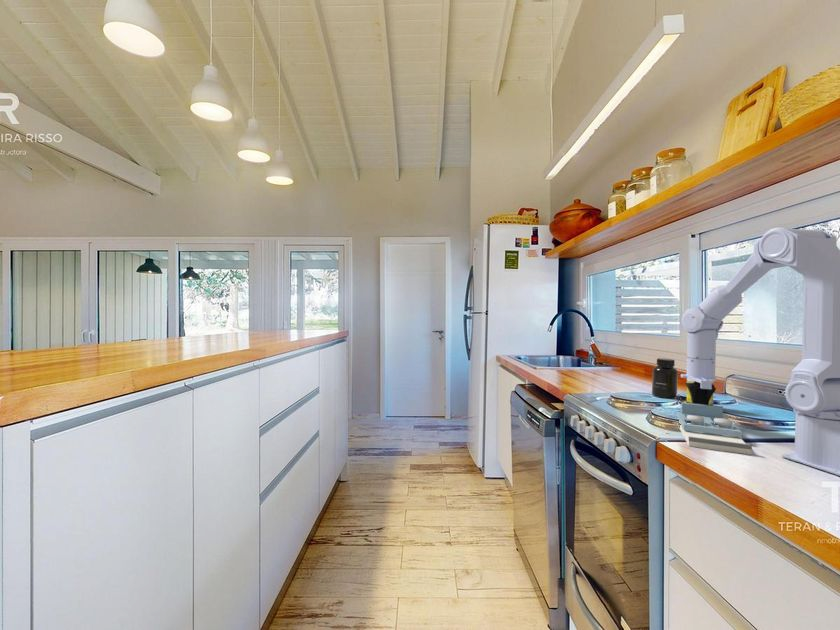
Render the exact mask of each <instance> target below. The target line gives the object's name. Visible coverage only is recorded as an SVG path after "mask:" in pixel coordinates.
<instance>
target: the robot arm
mask: <svg viewBox="0 0 840 630" xmlns="http://www.w3.org/2000/svg"><path fill="white" fill-rule="evenodd" d="M837 240H838V239H837V236H836V235H833V234H831V233H830V232H827V231H825V230H822V229H817V228H816V229H815V228H814V229H803V228H802V229H801V228H799V229H797V228H786V227H773V228H771V229H769V230H767V231H766V232H765V233H764V234H763V235H762V236H761V238H760V240H758V241H757V242H755V243H754V244H753V252H752V254H751V255H750V256H749V257H748V259H747V260H746V261H745V262H744V263H743V265H742V266H741V267H740V268H739V269H738V270H737V272H736V273H735V274H734V275H733V276H732V277H731V279H730V280H728V283H727V284H725V285H717V286H715V287H713V288H711V289H710V293H709V294H708V295H707V296H706V297H705V298H704V299H703V300H702V301H701V302H700V303H699V304H698V305H697V306H695V307H694V308H688V309H686V310H685V311H684V312H683V314H682V316H681V324H682V328H683V329H684V330H685V331H686V332H687V333H686V335H687V337H686V373H681V374H680V378H682V379H686V380H687V379H690V380H693V381H694V382H693V383H687V382H685V385H686V389H687V388H688V390H689V392H690V395H691V400H692V403H693V404H703V405H708V404H709V401H710V398H711V396H712V394H713V395H714V393H715V391H716V390H717V388H716V387H715V385H714V382H716V381H717V377H716V360H717V359H716V355H717V354H716V352H717V351H716V348H717V346H716V345H717V339H718V338H719V333H720V331H721V329H722V328H723V325H724V319H725V318H726V317H727V316H728V315H729V314H730V313H731V312H732V311H733V310H735V308H736V307H738V306H739V305H740V304H741V303H742V301H743V297H742V296H743V295H742V294H743V293H744V292H746V291H747V290H748V289H749V288H751V287H752V286H753V285H754V284H755V283H757V282H758V281H759V280H760V279H762V278H763V277H764V276H765V275H767V273H768V272H770V271H771V270H773V269H777V268H784V267H789V268H791V269H793V270H794V271H796V272H797V273H799V275H802V276H803V299H802V301H803V304H802V306H803V307H802V309H803V310H802V313H803V314H802V351H801V353H802V355H801V356H802V358H801V361H800V362H799V363H798V364H797V365H796V366H795V367H794V368H792V370H791V376H790V379H789V382H788V384H787V385H786V387H785V389H784V390H785V391H784V392H785V393H784V396H785V399H786V401H787V403H788V405H789V406H791V408H792V409H793V411H792V412H794V413H795V426H794V430H795V431H794V452H789V453H782V454H781V457H782V458H784V459H787V460H791V461H794V462H798V463H801V464H803V465H806V466H809V467H812V468H815V469H819V470H820V471H824V472H827V473H830V474H833V475H836V476H839V477H840V248H839V247H838V245H837ZM712 383H713V384H712Z"/></svg>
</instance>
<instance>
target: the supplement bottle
mask: <svg viewBox="0 0 840 630" xmlns="http://www.w3.org/2000/svg"><path fill="white" fill-rule="evenodd" d="M675 363H676V362H675V359H673V358H665V357H664V358H662V357H661V358H660V357H659V358H657V359H656V365H657V366H654V367H653V368H652V381H651V382H652V383H651V394H652V396H654V397H656V398H660V399H669V400H670V399H677V396H678V381H679V378H678V377H679V376H678V375H679V371H678V369H677V368H675Z"/></svg>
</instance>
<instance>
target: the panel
mask: <svg viewBox="0 0 840 630" xmlns="http://www.w3.org/2000/svg"><path fill="white" fill-rule="evenodd" d="M680 405H681V406H680V409H681V412H679V411H676V415H675V417H676V416H677V417H678V419H679V423H680V424H681V426H682V428H683V430H686V431H694V432H702V433H710V434H718V435H726V436H734V437H740V438H742V431H741V429H739V428H738V426H736V424H735V423H733V424H732V426H728V429H725V428H716V427H714V418H723V419H728V420H730V419H729V418H728V417H726V416H724V407H723V406H720V405H714V404H713V405H703V404H693V403H687V402H681V404H680ZM687 415H696V416H701V417H703V418H704V422H703V423H700V426H699V425H691V424H687Z"/></svg>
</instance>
